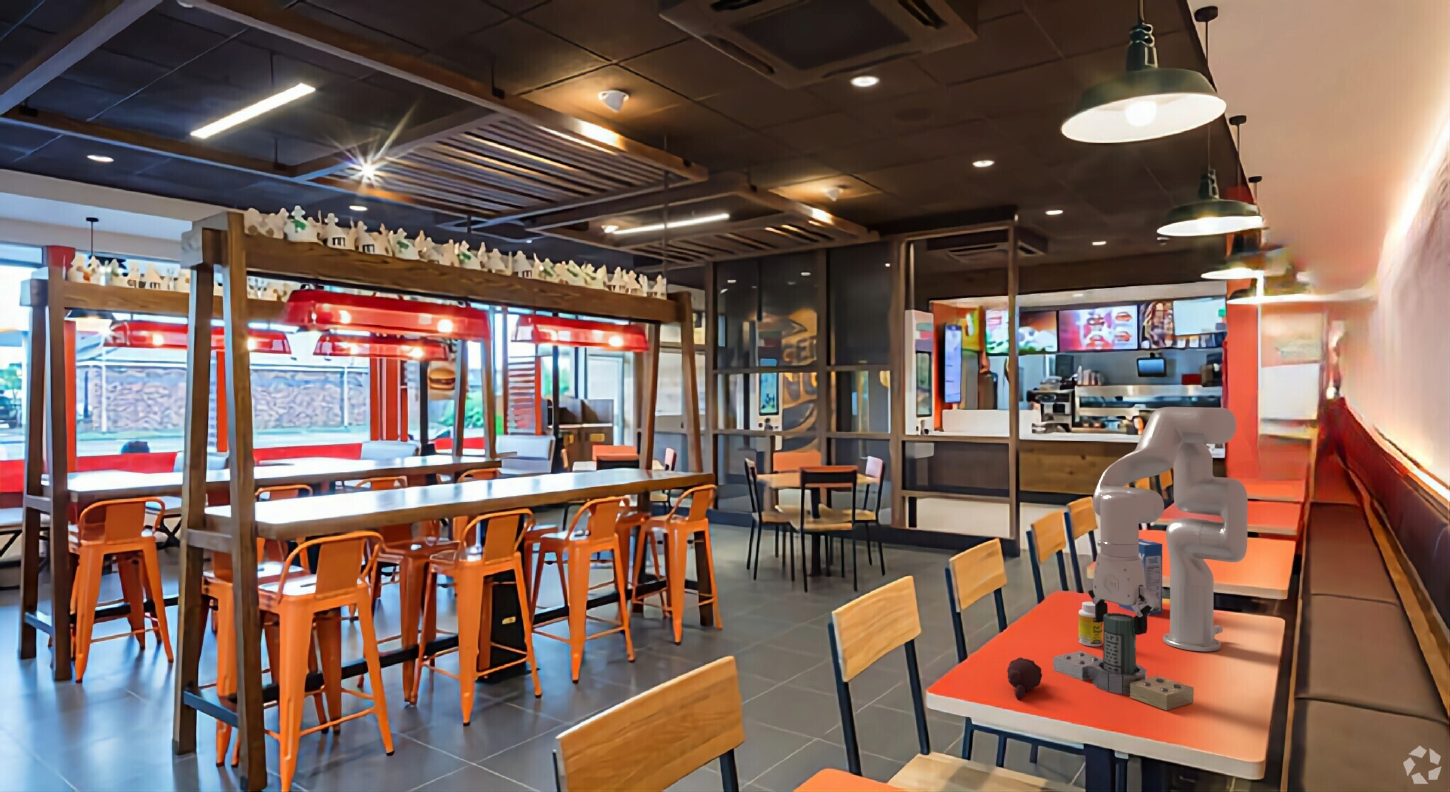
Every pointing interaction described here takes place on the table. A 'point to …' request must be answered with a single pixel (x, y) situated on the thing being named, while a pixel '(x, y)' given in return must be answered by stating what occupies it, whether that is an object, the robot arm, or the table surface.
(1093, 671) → the leaf fixed
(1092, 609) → the supplement bottle
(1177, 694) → the tan studded block
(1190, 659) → the table surface
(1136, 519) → the robot arm
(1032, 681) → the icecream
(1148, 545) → the milk carton
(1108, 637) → the can
